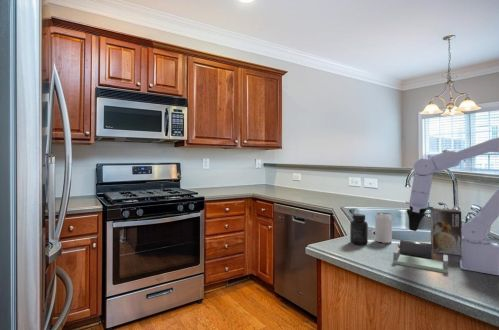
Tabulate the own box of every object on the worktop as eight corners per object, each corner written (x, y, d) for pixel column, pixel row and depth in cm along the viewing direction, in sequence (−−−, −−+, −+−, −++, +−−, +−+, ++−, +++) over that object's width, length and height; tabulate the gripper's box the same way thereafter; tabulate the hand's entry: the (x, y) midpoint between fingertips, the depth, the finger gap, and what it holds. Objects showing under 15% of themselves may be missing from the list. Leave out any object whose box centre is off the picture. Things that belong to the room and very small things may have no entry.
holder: (447, 265, 95) (447, 254, 95) (447, 273, 88) (447, 261, 88) (396, 256, 103) (396, 247, 103) (393, 263, 97) (393, 253, 97)
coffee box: (458, 251, 110) (458, 209, 110) (462, 256, 104) (462, 212, 104) (430, 247, 114) (430, 207, 114) (432, 252, 108) (432, 210, 108)
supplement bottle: (354, 240, 125) (354, 212, 125) (370, 243, 120) (370, 214, 120) (347, 243, 120) (347, 214, 120) (363, 246, 116) (363, 217, 115)
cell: (432, 256, 105) (432, 242, 104) (431, 260, 100) (431, 246, 100) (398, 251, 111) (399, 238, 111) (397, 254, 106) (397, 241, 106)
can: (372, 241, 123) (372, 213, 123) (378, 238, 128) (378, 211, 128) (388, 244, 119) (388, 215, 119) (394, 241, 123) (394, 213, 123)
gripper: (409, 187, 112) (403, 220, 114) (405, 191, 100) (399, 229, 102) (431, 191, 108) (424, 225, 110) (429, 196, 96) (422, 235, 98)
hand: (413, 227), depth 105 cm, fingers open, 7 cm apart
